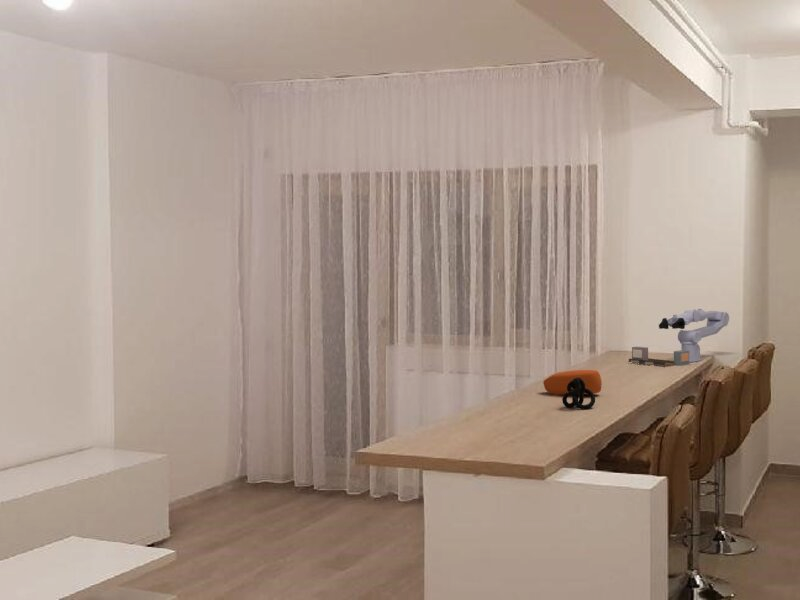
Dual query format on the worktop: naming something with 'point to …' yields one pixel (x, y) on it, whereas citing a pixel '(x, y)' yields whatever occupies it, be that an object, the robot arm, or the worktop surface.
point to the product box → (681, 357)
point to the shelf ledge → (654, 362)
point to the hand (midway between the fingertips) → (666, 326)
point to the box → (640, 353)
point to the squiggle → (578, 394)
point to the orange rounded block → (560, 380)
